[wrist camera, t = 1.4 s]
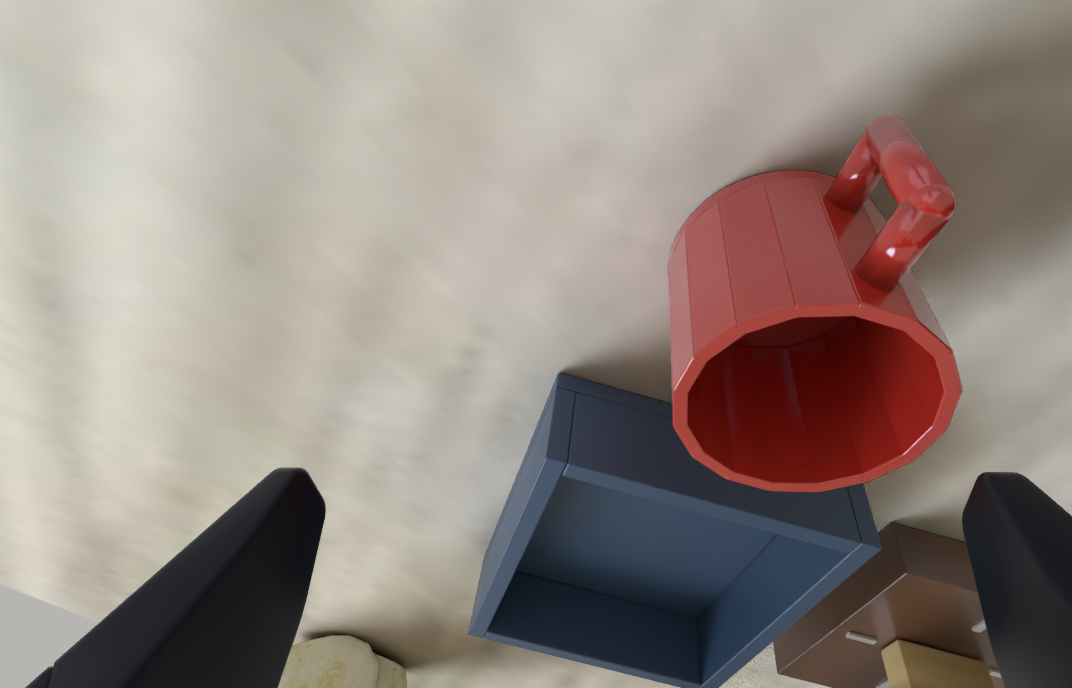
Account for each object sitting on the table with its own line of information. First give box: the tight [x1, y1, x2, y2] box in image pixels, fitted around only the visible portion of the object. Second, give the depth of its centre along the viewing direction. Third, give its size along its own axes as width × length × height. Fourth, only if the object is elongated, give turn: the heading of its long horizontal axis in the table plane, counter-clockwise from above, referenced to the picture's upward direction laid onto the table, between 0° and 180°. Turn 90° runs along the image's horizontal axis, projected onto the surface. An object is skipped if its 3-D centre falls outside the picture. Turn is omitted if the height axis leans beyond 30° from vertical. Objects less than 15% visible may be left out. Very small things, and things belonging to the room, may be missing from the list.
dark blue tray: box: [468, 373, 882, 688], centre depth 30 cm, size 13×15×4 cm
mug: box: [668, 115, 962, 492], centre depth 19 cm, size 9×7×6 cm
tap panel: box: [773, 523, 1005, 688], centre depth 33 cm, size 10×11×3 cm
